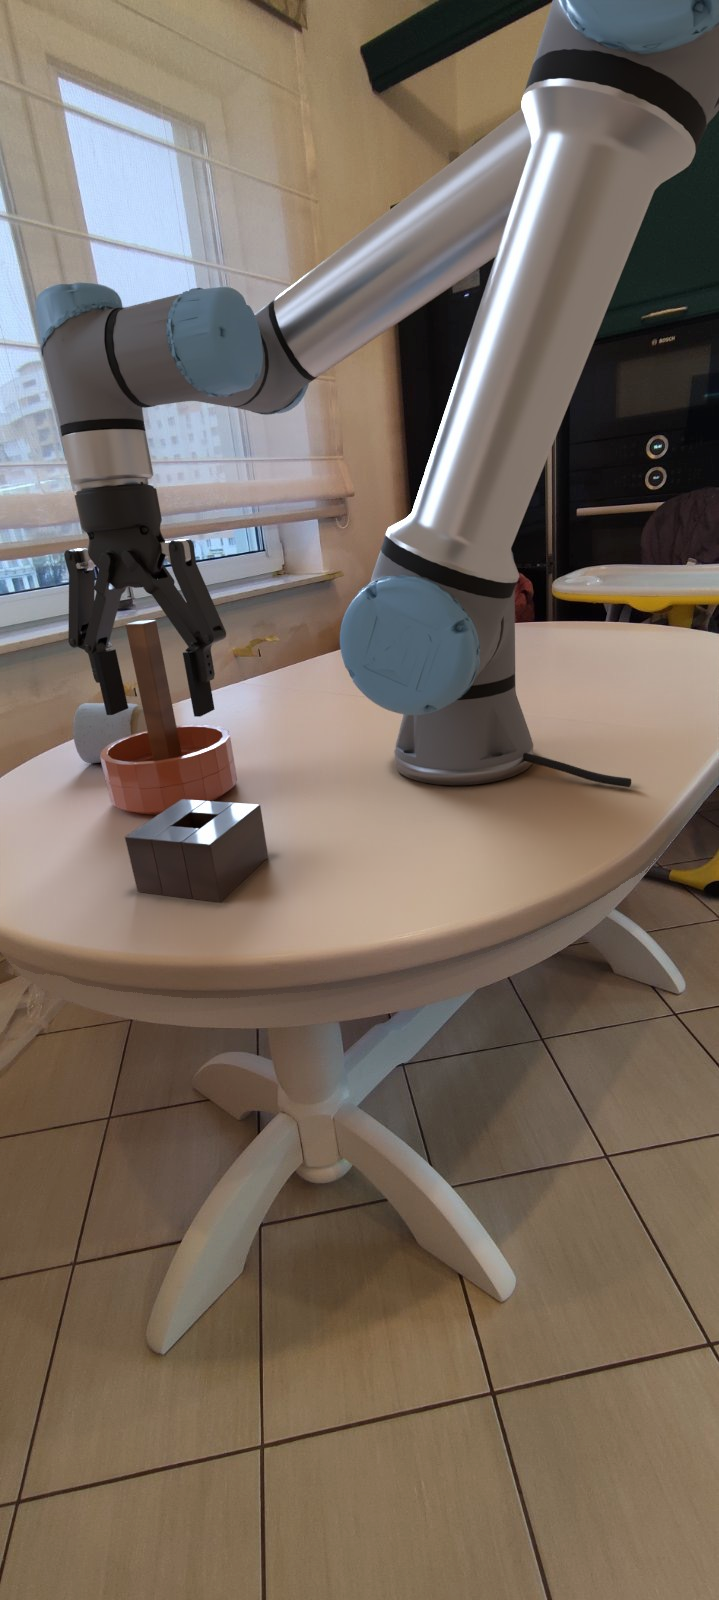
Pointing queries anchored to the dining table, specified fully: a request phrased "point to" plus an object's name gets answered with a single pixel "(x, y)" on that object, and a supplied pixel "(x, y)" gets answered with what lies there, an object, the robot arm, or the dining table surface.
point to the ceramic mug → (104, 728)
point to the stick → (154, 689)
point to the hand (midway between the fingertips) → (159, 712)
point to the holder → (198, 849)
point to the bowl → (169, 770)
